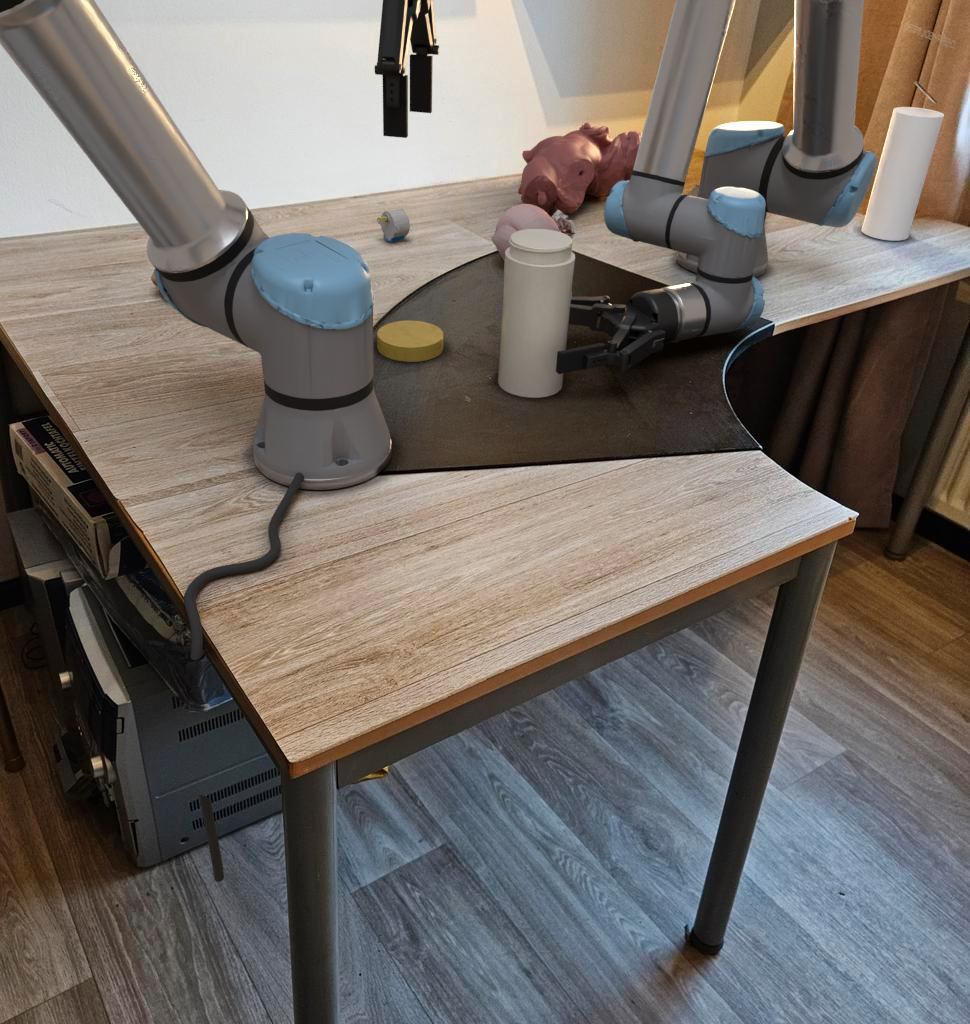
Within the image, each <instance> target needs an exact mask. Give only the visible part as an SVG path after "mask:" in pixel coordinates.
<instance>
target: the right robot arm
mask: <svg viewBox="0 0 970 1024" xmlns="http://www.w3.org/2000/svg"><path fill="white" fill-rule="evenodd" d="M735 4H736V0H675V3H674V6H673V11H672V15H671V18H670V22H669V26H668V30H667V33H666V38H665V42H664V46H663V50H662V53H661V56H660V57H661V58H660V62H659V66H658V70H657V74H656V77H655V81H654V85H653V89H652V93H651V97H650V101H649V106H648V108H647V113H646V117H645V122H644V125H643V129H642V132H641V133H642V136H641V140H640V144H639V148H638V152H637V156H636V160H635V164H634V168H633V172H632V176H631V178H630V181H620V182H618V183H616V184H615V185H614V186H613V188H612V189H611V192H610V196H608V197H606V200H605V204H604V209H603V219H604V224H605V226H606V228H607V230H608V231H609V232H611V233H612V234H614V235H617V236H619V237H622V238H626V239H628V240H632V242H635V243H639V242H640V243H643V244H648V245H652V246H656V247H660V248H663V249H664V248H665V249H669V250H671V251H675V252H677V256H676V261H677V263H678V264H679V266H681V267H682V268H684V269H686V270H687V271H689V272H692V273H694V274H696V278H695V281H693V282H689V283H682V284H681V283H680V284H675V285H670V286H664V287H661V288H654V289H648V290H643V291H638V292H636V293H634V294H633V295H632V296H631V297H630V298H629V299H628V301H627V302H626V303H625V304H620V303H613V304H612V303H610V302H611V297H610V296H609V295H598V296H575V295H574V296H571V306H570V316H569V325H572V326H573V325H574V326H582V327H589V328H590V330H591V331H594V332H601V333H605V334H607V335H608V336H609V337H610V338H612V339H611V340H608V341H607V347H606V344H605V343H603V342H599V343H594V344H588V345H584V346H583V345H582V346H579V347H574V348H569V349H566V350H563V351H558V353H557V363H556V372H557V373H558V374H562V373H564V374H566V373H572V372H576V371H581V370H585V369H592V368H597V367H601V366H606V367H608V368H614V367H617V371H618V372H620V373H626V372H628V371H629V370H632V368H634V367H635V366H636V365H638V364H639V363H640V362H643V360H645V359H646V358H648V357H649V356H650V355H652V354H654V353H658V352H661V351H663V349H664V345H667V344H670V343H674V344H678V343H679V342H681V341H687V340H690V339H697V338H703V337H707V336H713V335H718V334H725V333H732V332H734V331H737V330H741V329H744V328H747V327H751V326H752V325H754V324H755V323H756V322H758V320H759V319H760V318H761V316H762V314H763V313H764V309H765V304H766V300H765V298H764V288H763V285H762V284H761V282H760V281H759V279H757V277H760V276H762V275H764V274H765V273H766V271H767V267H768V264H769V263H768V262H769V253H768V244H767V243H768V242H767V236H766V234H767V233H766V227H765V225H766V224H765V223H766V219H767V213H768V214H771V215H772V214H773V215H777V216H781V217H785V218H789V219H793V220H798V221H801V222H806V223H809V224H812V225H816V226H817V225H818V226H819V227H823V226H826V227H832V228H838V229H839V228H844V227H846V226H847V225H849V224H850V223H851V221H852V220H853V219H854V218H855V217H856V215H857V213H858V211H859V209H860V207H861V206H862V203H863V202H864V199H865V197H866V196H867V193H868V191H869V188H870V186H871V183H872V180H873V177H874V175H875V171H876V168H877V163H878V156H877V155H876V154H875V153H874V152H872V151H871V150H866V151H865V150H864V145H865V139H864V138H865V137H864V134H863V133H862V131H861V130H860V128H859V127H858V126H857V125H855V124H856V123H855V121H856V110H857V99H858V98H857V95H858V83H859V71H860V70H859V69H860V60H861V59H860V56H861V45H862V32H863V17H864V7H865V5H864V4H865V0H794V32H793V33H794V37H793V38H794V39H793V43H794V44H793V46H794V47H793V110H792V111H793V113H792V114H793V115H792V116H793V118H792V119H793V121H792V130H791V131H790V132H789V133H788V134H787V136H785V134H786V130H785V126H784V124H782V123H778V122H776V121H767V120H766V121H765V120H748V121H747V120H746V121H745V120H744V121H733V122H727V123H723V124H720V125H717V126H715V127H714V128H713V129H712V130H711V131H710V132H709V134H708V137H707V142H706V147H705V151H704V153H703V161H702V168H701V175H700V180H699V184H700V186H699V193H698V197H695V196H690V195H688V194H685V193H684V189H685V185H686V179H687V176H688V173H689V169H690V165H691V162H692V158H693V154H694V152H695V147H696V145H697V144H696V143H697V141H698V136H699V133H700V129H701V126H702V122H703V119H704V115H705V112H706V108H707V105H708V101H709V97H710V94H711V90H712V87H713V83H714V79H715V76H716V72H717V69H718V65H719V62H720V58H721V54H722V52H723V48H724V45H725V44H724V43H725V40H726V36H727V33H728V29H729V26H730V21H731V19H732V16H733V11H734V8H735ZM598 318H599V323H598Z"/></svg>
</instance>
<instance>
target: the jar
mask: <svg viewBox="0 0 970 1024" xmlns="http://www.w3.org/2000/svg"><path fill="white" fill-rule="evenodd" d="M509 243H510V247H509V248H507V250H506V251H505V261H504V265H503V267H504V268H503V281H502V282H503V284H502V297H501V298H502V300H501V318H500V334H499V350H498V369H497V384H498V386H499V387H500V389H502V390H503V391H504V392H506V393H508V394H511V395H513V396H516V397H521V398H526V399H527V398H529V399H540V398H541V399H542V398H546V397H551V396H554V395H556V394H557V393H559V392H560V391H561V390H562V389H563V385H564V375H565V373H562V374H558V373H557V372H556V363H557V353H558V351H563V350H567V345H568V335H569V326H570V324H569V316H570V306H571V296H572V294H573V285H574V275H575V264H576V254H575V252H574V251H573V250H572V249H573V238H572V239H571V237H569V236H568V235H566V234H564V233H561V232H558V231H553V230H547V229H526V230H520V231H517V232H515V233H513V234H512V235H511V237H510V240H509Z"/></svg>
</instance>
